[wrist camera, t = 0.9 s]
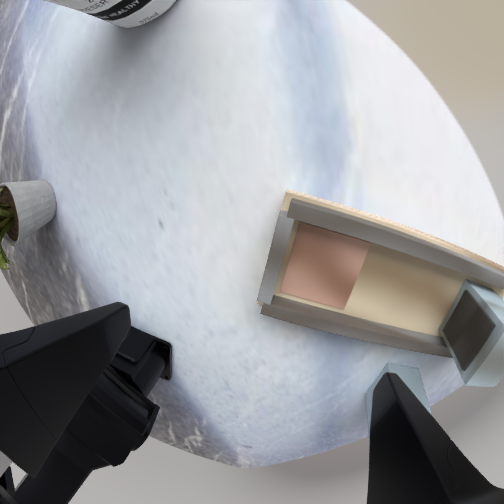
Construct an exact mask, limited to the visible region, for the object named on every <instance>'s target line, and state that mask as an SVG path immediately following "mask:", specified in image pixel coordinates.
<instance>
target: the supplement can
mask: <svg viewBox="0 0 504 504" xmlns="http://www.w3.org/2000/svg"><path fill="white" fill-rule="evenodd" d="M44 1H48V2H52V3H55V4H59V5H62V6H66V7H69V8H72V9H75V10H78V11H81V12H84V13H87V14H89V15H92V16H95V17H97V18H100V19H102V20H105V21H107V22H110V23H112V24H115V25H117V26H119V27H126V28H131V27H136V26H140V25H143V24H145V23H147V22H149V21H151V20H153V19H155V18H157V17H159V16H160V15H161V14H163V13H164V12H165V11H167V10H168V9H169V8H170V7H171V6H172V5H173V4H174V3H175V2H176V0H44Z"/></svg>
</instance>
